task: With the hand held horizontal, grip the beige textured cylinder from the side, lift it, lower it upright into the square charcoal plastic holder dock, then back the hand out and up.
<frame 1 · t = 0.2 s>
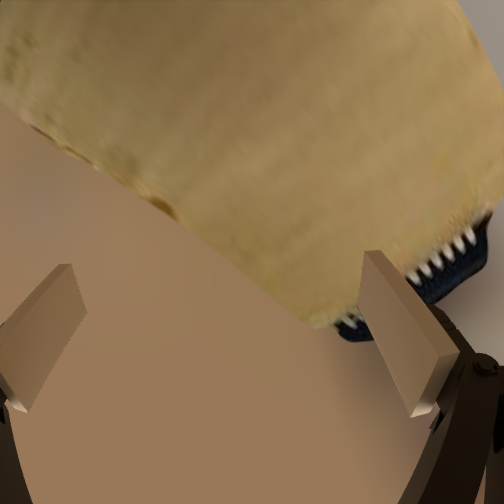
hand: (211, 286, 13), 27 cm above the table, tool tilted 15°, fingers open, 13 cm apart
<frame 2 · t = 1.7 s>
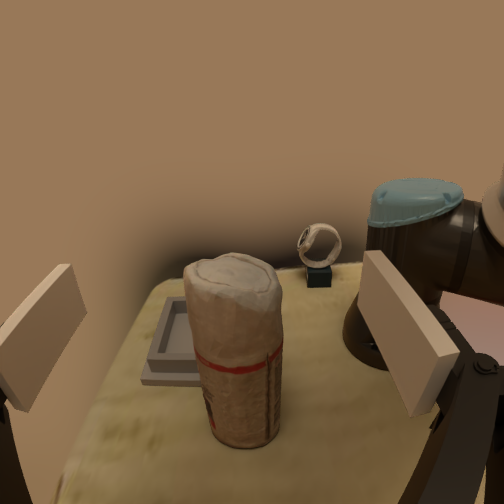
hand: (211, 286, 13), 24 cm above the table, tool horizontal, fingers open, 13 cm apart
watch: (317, 280, 59), on the table
holder dock: (210, 343, 45), on the table
beige textured cylinder: (245, 421, 32), on the table
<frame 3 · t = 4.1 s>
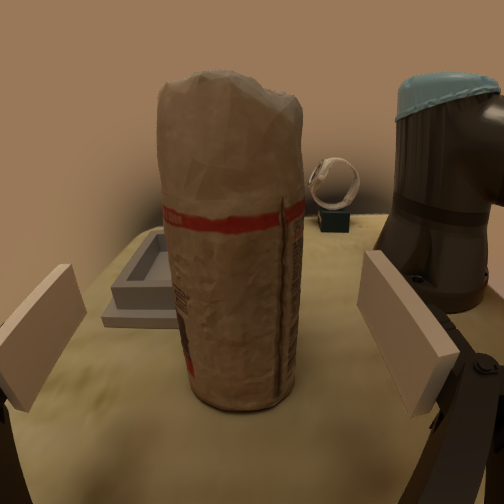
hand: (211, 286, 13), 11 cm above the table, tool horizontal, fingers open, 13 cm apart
watch: (331, 227, 50), on the table
holder dock: (199, 281, 35), on the table
beige textured cylinder: (242, 373, 23), on the table
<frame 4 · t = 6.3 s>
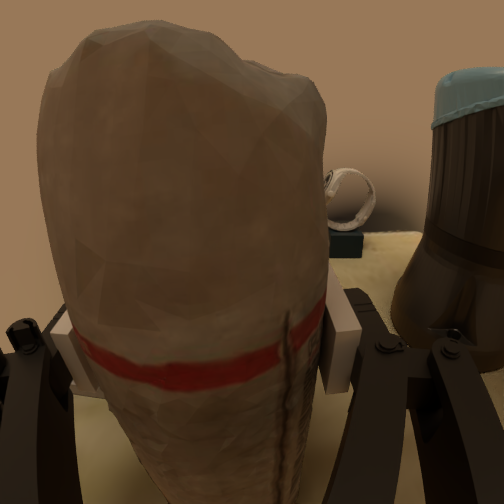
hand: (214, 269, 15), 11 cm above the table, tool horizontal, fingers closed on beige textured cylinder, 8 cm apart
watch: (341, 250, 42), on the table
beige textured cylinder: (231, 474, 15), on the table, touching gripper
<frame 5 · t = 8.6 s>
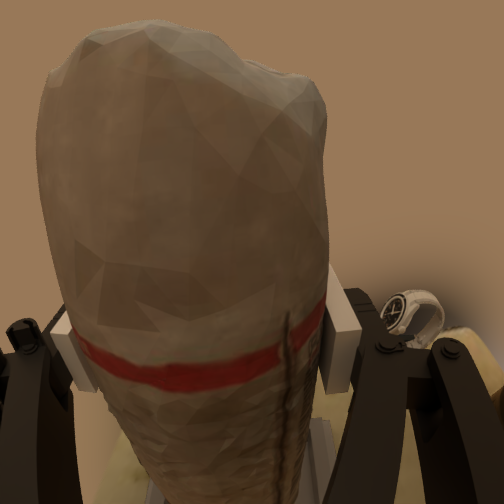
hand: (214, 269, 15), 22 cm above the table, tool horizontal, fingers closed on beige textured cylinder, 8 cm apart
watch: (396, 368, 35), on the table
holder dock: (244, 501, 21), on the table
beige textured cylinder: (231, 475, 15), point 11 cm above the table, touching gripper
when the fingers open (13 cm above the table, at t = 11.3 s): beige textured cylinder stays where it is, resting on holder dock.
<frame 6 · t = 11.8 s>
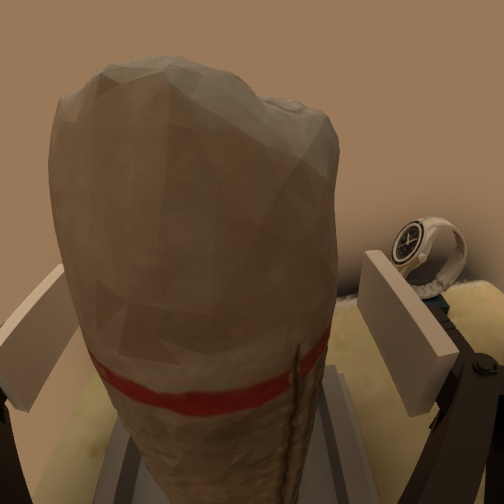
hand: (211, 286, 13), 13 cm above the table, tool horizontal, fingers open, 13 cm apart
watch: (414, 319, 30), on the table
holder dock: (234, 484, 16), on the table
beige textured cylinder: (233, 480, 15), point 1 cm above the table, touching holder dock
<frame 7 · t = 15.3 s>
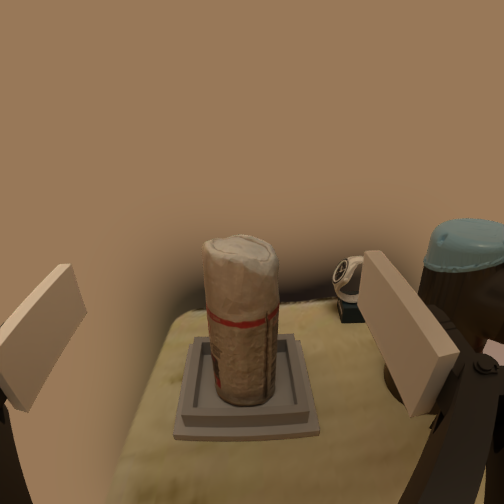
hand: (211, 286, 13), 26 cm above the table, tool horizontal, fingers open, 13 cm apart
watch: (350, 314, 55), on the table
holder dock: (245, 389, 40), on the table
beige textured cylinder: (245, 385, 39), point 1 cm above the table, touching holder dock
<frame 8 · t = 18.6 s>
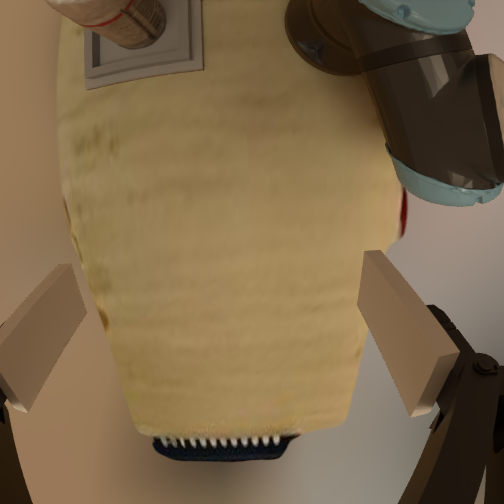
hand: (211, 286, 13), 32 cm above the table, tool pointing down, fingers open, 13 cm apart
holder dock: (141, 24, 33), on the table
beige textured cylinder: (139, 23, 32), point 1 cm above the table, touching holder dock
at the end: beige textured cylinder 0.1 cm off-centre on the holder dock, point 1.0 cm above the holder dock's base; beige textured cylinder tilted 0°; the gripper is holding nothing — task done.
